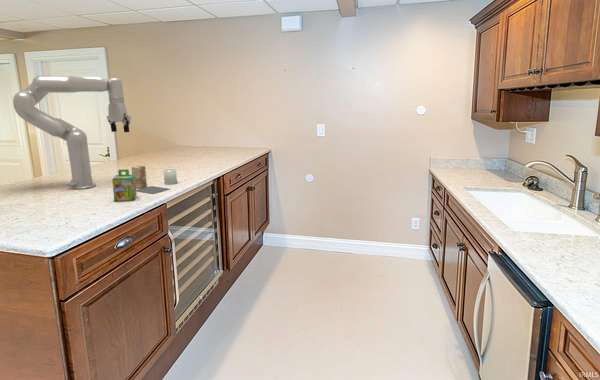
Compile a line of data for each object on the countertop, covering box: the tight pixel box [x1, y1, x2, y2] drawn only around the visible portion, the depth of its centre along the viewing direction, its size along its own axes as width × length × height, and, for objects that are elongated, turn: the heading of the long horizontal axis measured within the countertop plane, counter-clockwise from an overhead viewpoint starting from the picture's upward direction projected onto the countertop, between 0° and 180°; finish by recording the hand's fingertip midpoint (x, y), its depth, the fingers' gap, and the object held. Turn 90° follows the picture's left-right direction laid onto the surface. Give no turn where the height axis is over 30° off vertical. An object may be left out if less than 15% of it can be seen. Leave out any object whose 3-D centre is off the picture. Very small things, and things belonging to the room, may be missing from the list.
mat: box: [136, 185, 171, 195], centre depth 204 cm, size 12×14×1 cm
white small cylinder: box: [163, 168, 178, 186], centre depth 219 cm, size 7×7×8 cm
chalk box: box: [111, 169, 137, 202], centre depth 184 cm, size 9×9×15 cm
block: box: [131, 165, 148, 190], centre depth 208 cm, size 5×5×12 cm
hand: (120, 131), depth 213 cm, fingers open, 9 cm apart
